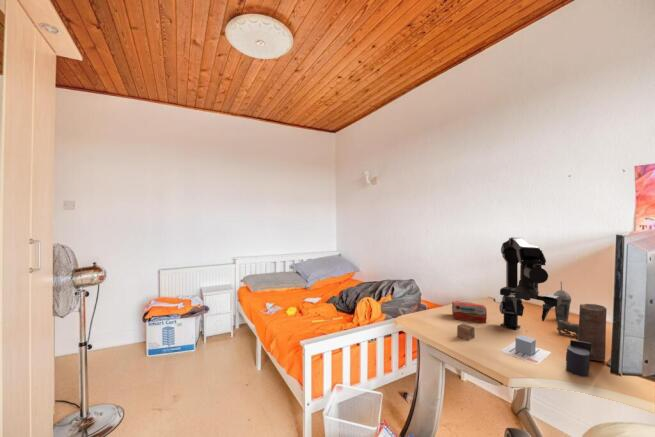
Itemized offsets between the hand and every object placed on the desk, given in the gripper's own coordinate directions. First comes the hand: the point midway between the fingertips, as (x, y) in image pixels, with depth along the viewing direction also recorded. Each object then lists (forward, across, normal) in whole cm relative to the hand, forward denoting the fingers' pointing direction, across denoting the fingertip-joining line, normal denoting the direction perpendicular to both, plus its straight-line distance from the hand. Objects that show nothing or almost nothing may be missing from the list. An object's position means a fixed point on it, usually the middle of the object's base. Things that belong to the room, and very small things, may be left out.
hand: (528, 317), depth 106 cm
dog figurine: (+13, +7, +33) cm, 36 cm away
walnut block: (+13, -20, -9) cm, 26 cm away
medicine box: (+13, -31, +16) cm, 37 cm away
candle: (+13, +16, +12) cm, 24 cm away
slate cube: (+13, 0, -3) cm, 13 cm away
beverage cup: (+13, -2, +54) cm, 56 cm away
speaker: (+13, +16, -5) cm, 21 cm away
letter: (+13, 0, -3) cm, 13 cm away
